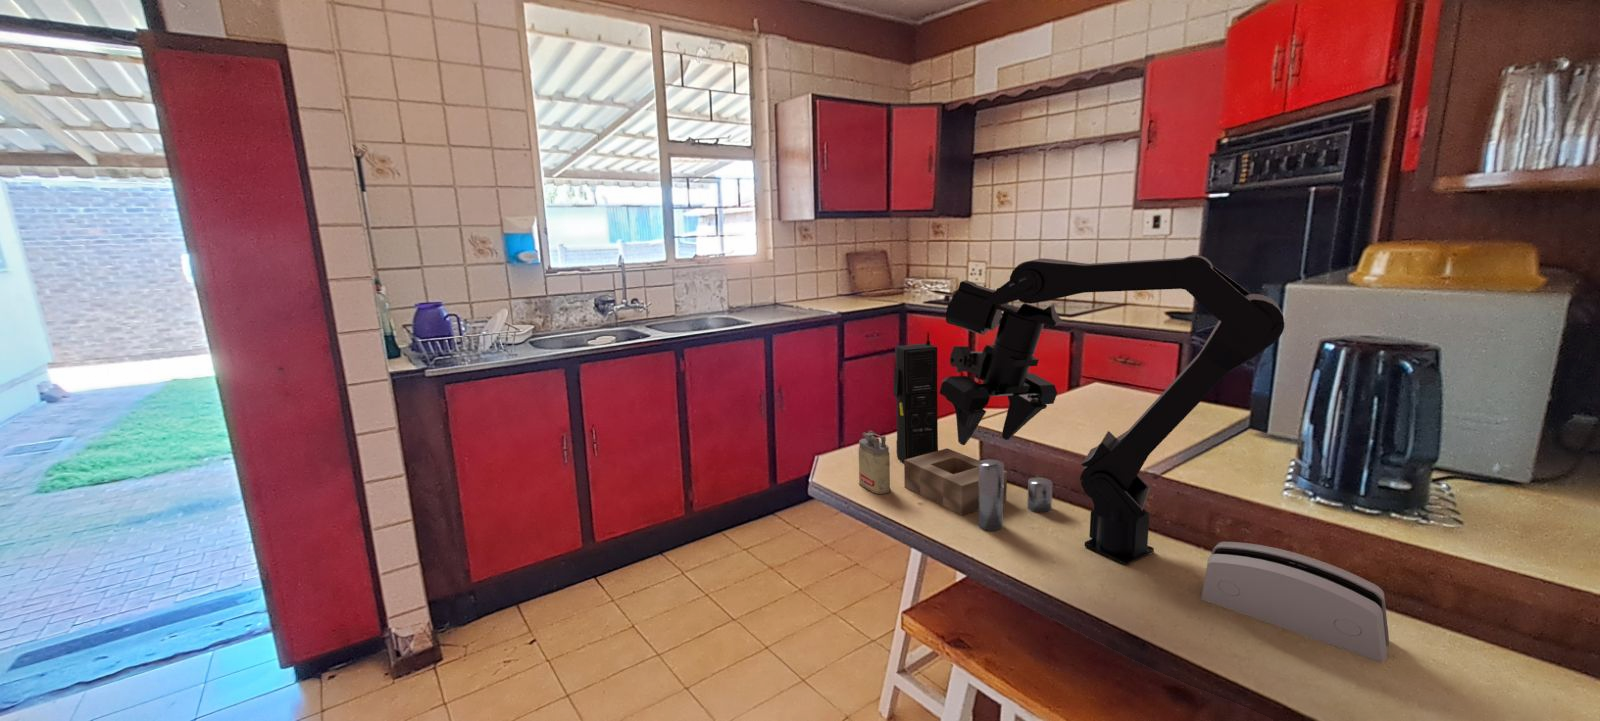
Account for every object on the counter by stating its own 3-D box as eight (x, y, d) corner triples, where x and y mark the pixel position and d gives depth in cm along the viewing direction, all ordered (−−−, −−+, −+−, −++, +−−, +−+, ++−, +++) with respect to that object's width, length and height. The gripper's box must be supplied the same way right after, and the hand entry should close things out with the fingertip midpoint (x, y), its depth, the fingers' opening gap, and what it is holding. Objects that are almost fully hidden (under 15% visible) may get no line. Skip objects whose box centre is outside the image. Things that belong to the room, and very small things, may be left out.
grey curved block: (1391, 641, 68) (1401, 572, 63) (1383, 674, 65) (1393, 606, 61) (1211, 581, 80) (1210, 521, 76) (1199, 608, 77) (1196, 546, 73)
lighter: (855, 482, 115) (854, 429, 113) (872, 478, 117) (871, 426, 115) (877, 496, 109) (877, 440, 107) (895, 491, 111) (895, 436, 109)
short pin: (1056, 509, 101) (1057, 482, 100) (1040, 515, 100) (1042, 488, 99) (1037, 501, 104) (1038, 475, 103) (1022, 506, 103) (1023, 480, 102)
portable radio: (902, 467, 121) (901, 338, 116) (890, 457, 127) (889, 333, 122) (940, 462, 123) (941, 335, 118) (926, 452, 129) (926, 330, 123)
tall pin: (1007, 527, 96) (1009, 464, 94) (990, 533, 94) (991, 470, 92) (989, 518, 99) (990, 457, 97) (972, 524, 97) (973, 462, 95)
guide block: (1006, 500, 105) (1007, 471, 104) (961, 515, 100) (961, 485, 99) (947, 474, 117) (947, 448, 116) (904, 486, 112) (904, 459, 111)
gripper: (1017, 326, 102) (989, 413, 107) (929, 325, 93) (903, 420, 98) (1074, 353, 93) (1040, 446, 99) (982, 354, 84) (951, 457, 89)
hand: (983, 441), depth 96 cm, fingers open, 9 cm apart
